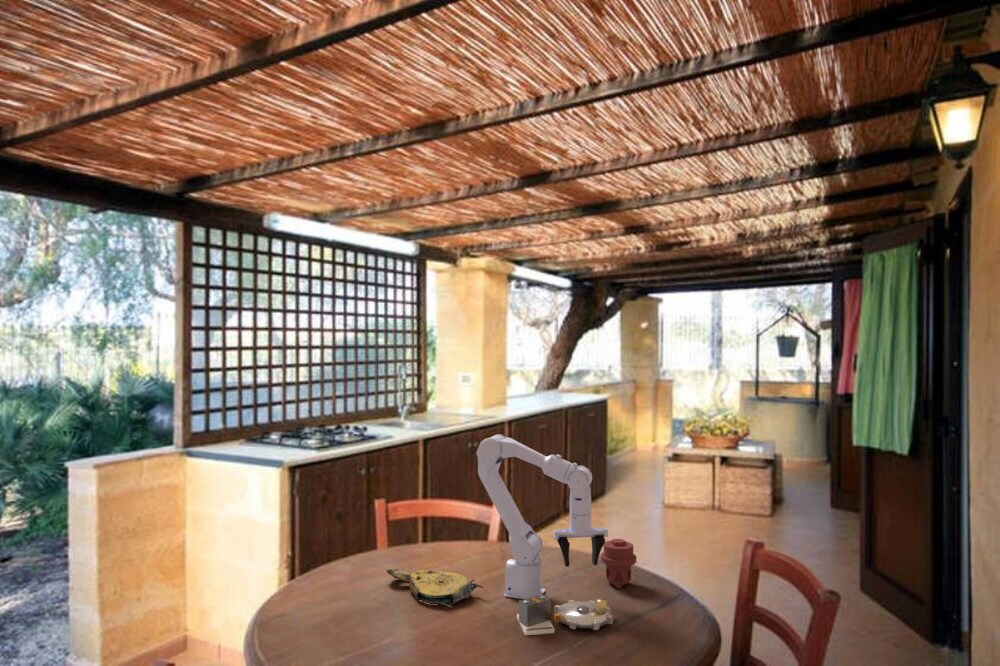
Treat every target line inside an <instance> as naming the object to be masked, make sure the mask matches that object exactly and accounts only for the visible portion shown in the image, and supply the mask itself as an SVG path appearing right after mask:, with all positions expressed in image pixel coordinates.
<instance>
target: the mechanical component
mask: <svg viewBox="0 0 1000 666" xmlns="http://www.w3.org/2000/svg"><path fill="white" fill-rule="evenodd" d="M600 561H601V562H602V563H603V564H604V565H605V569H606V570H605V577H606V580H607V582H608V583H609V584H612V586H613V585H614V586H615V588H616V589H618V588H620V589H622V587H624V586H625V585H629V584H630V582H631V581H632V566H634V565H635V564H636V563H637V555H636V554H634V544H633V543H631V542H630V541H626V540H625V539H621V538H613V539H611V540H608V541H605V543H604V545H603V551H602V553H600Z"/></svg>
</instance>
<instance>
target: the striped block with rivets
mask: <svg viewBox="0 0 1000 666" xmlns="http://www.w3.org/2000/svg"><path fill="white" fill-rule="evenodd" d="M518 613H519V621H518V623H519V622H520V623H522V624H523V625H525V626H527V627H529V626H533V625H536V624H539V623H543V622H546V621H550V622H551V620H552V619H551V618H552V599H551V598H549V597H547V595H544V594H543V595H539V596H535V597H529V598H527V599H520V600H518ZM520 623H519V624H520Z"/></svg>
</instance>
